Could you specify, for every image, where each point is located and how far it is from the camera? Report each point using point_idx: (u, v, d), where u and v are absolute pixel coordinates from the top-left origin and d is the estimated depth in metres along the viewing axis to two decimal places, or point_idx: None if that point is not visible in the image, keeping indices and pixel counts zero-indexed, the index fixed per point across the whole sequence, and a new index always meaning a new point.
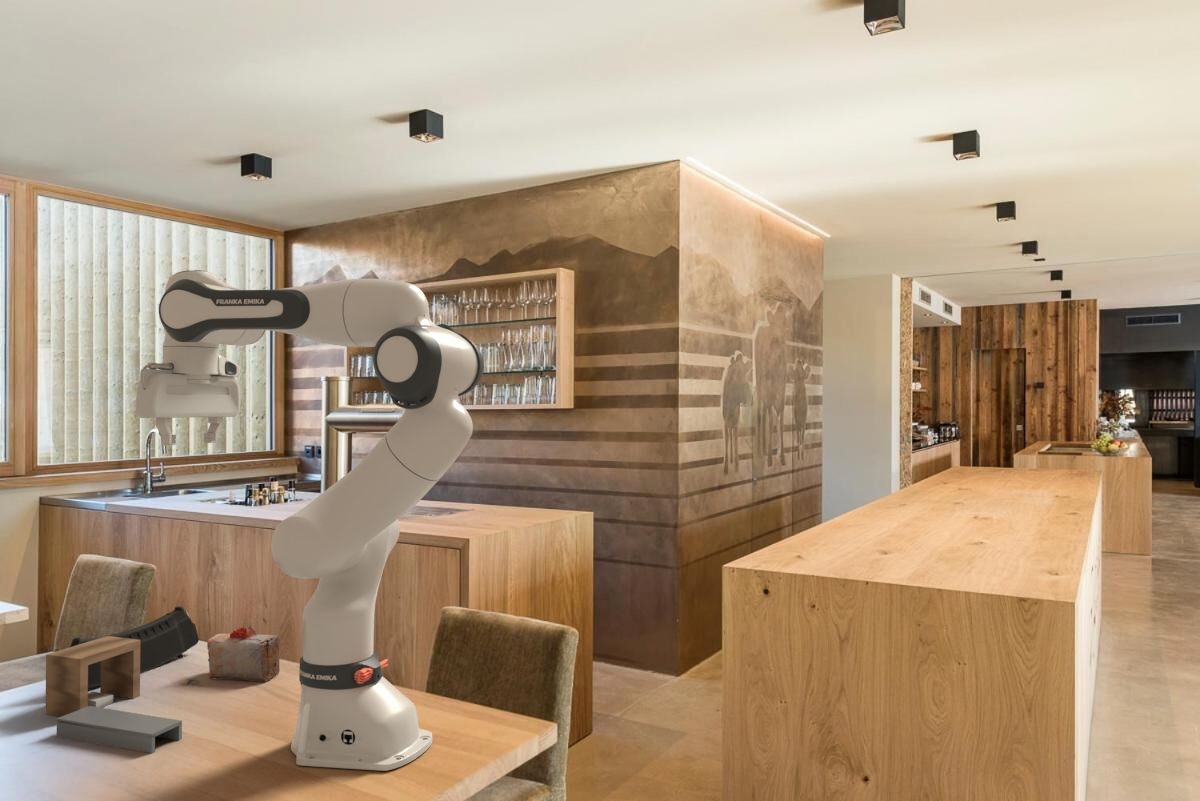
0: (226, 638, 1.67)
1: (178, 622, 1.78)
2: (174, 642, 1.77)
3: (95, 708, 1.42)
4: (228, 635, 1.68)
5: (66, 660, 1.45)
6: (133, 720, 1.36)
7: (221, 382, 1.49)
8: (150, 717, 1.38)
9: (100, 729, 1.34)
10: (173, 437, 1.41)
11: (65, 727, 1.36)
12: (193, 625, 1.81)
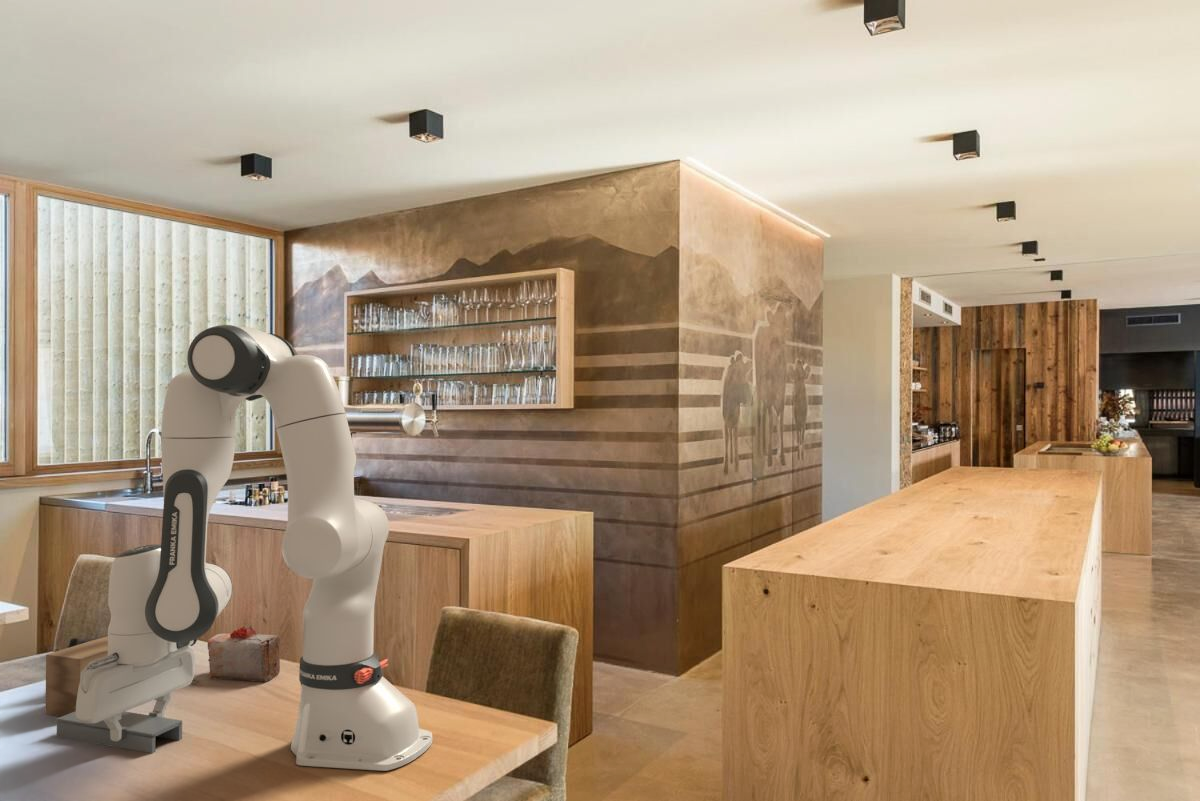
0: (226, 638, 1.67)
1: None
2: None
3: None
4: (228, 635, 1.68)
5: (66, 660, 1.45)
6: (133, 720, 1.37)
7: (172, 657, 1.39)
8: (151, 717, 1.38)
9: (100, 729, 1.34)
10: (123, 731, 1.32)
11: (65, 727, 1.36)
12: None
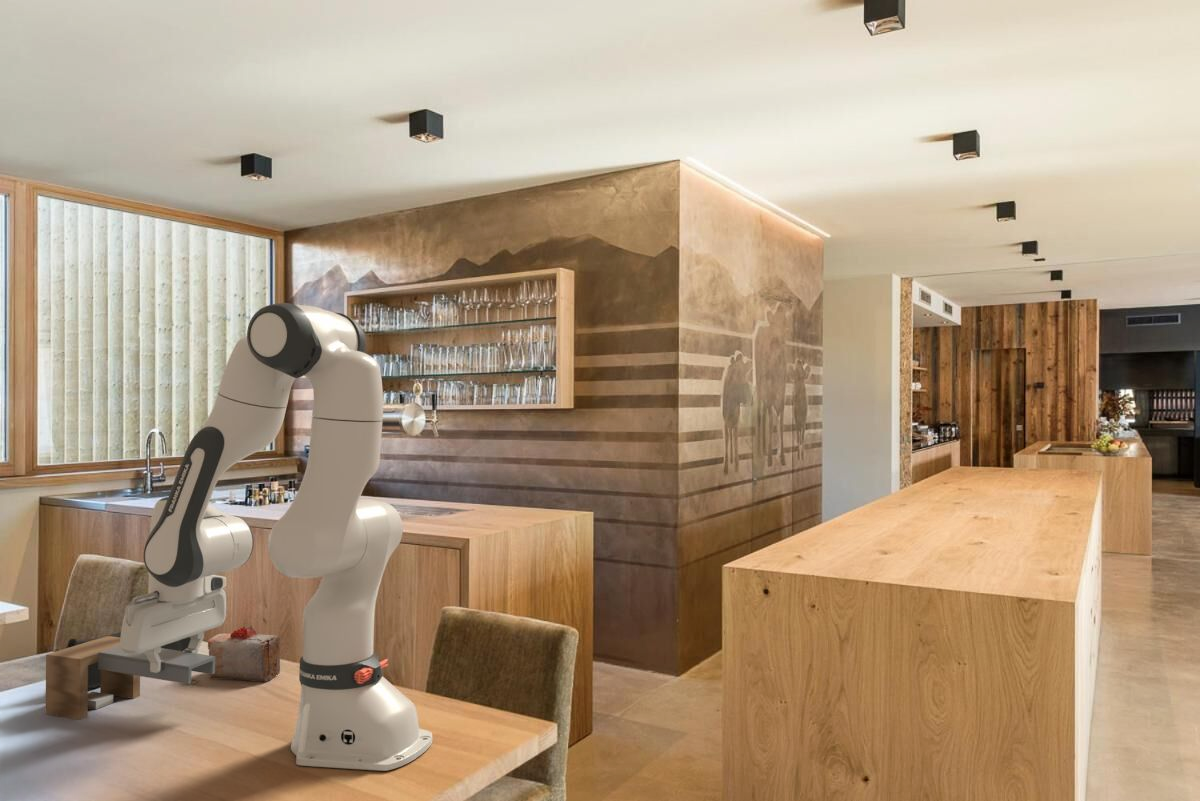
0: (226, 638, 1.67)
1: None
2: (170, 643, 1.76)
3: None
4: (229, 635, 1.68)
5: (66, 660, 1.45)
6: (170, 655, 1.47)
7: (206, 598, 1.49)
8: (185, 652, 1.48)
9: (139, 662, 1.45)
10: (162, 663, 1.42)
11: (106, 660, 1.47)
12: None
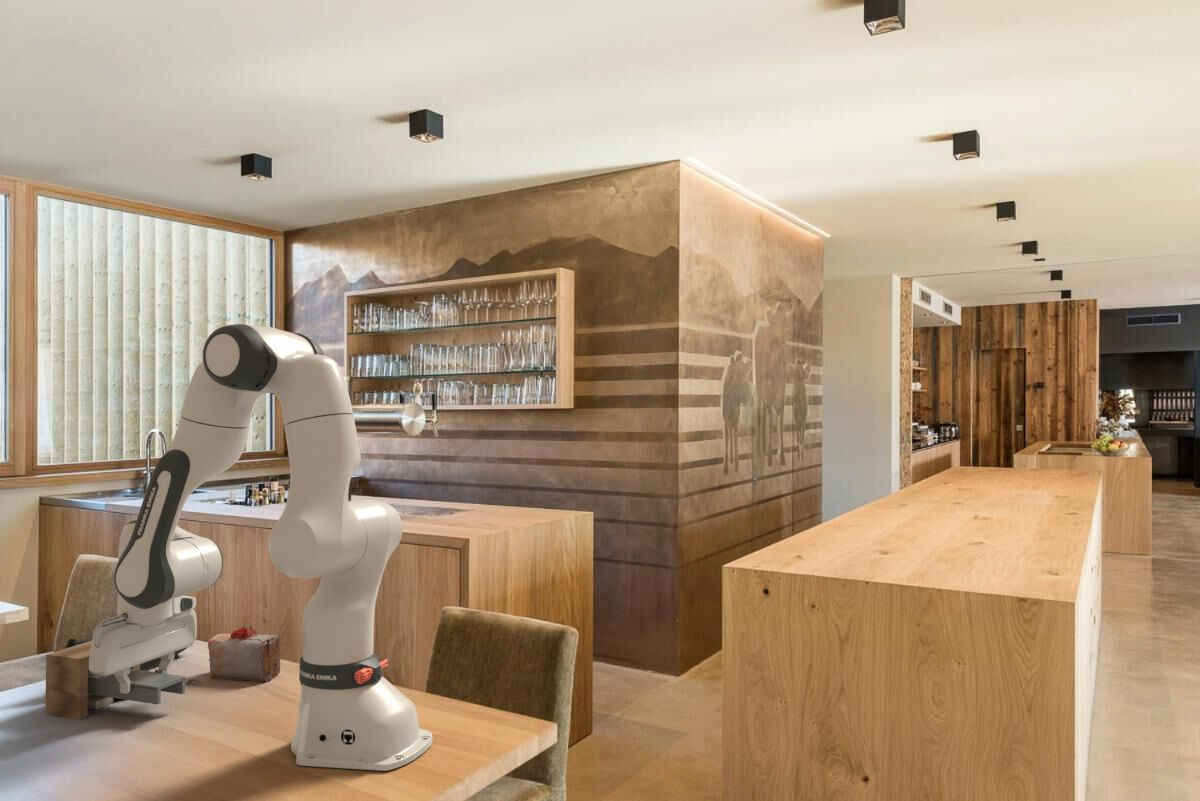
0: (226, 638, 1.67)
1: None
2: None
3: None
4: (229, 635, 1.68)
5: (66, 660, 1.45)
6: (140, 676, 1.49)
7: (176, 619, 1.51)
8: (156, 673, 1.50)
9: (110, 683, 1.47)
10: (132, 684, 1.44)
11: None
12: None
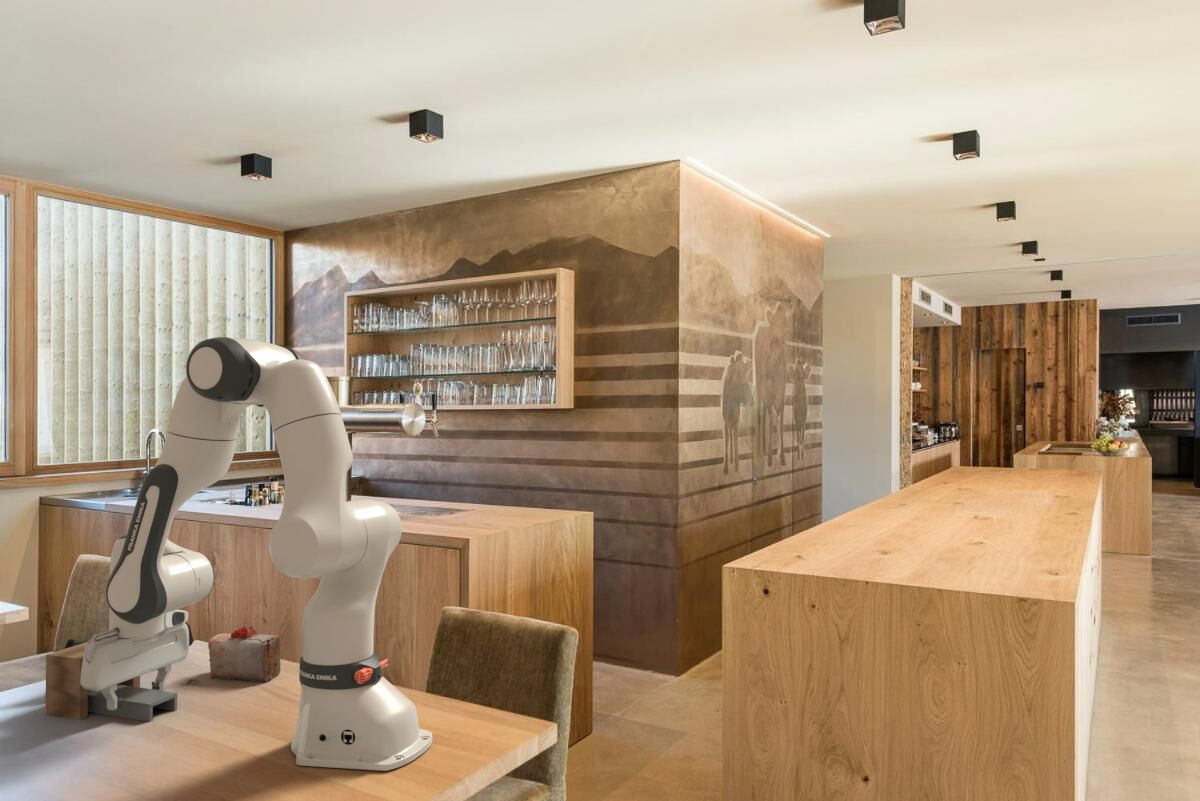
0: (226, 638, 1.67)
1: None
2: None
3: None
4: (229, 635, 1.68)
5: (66, 660, 1.45)
6: (133, 692, 1.49)
7: (168, 633, 1.52)
8: (148, 690, 1.51)
9: (102, 700, 1.47)
10: (119, 701, 1.44)
11: None
12: (188, 626, 1.81)
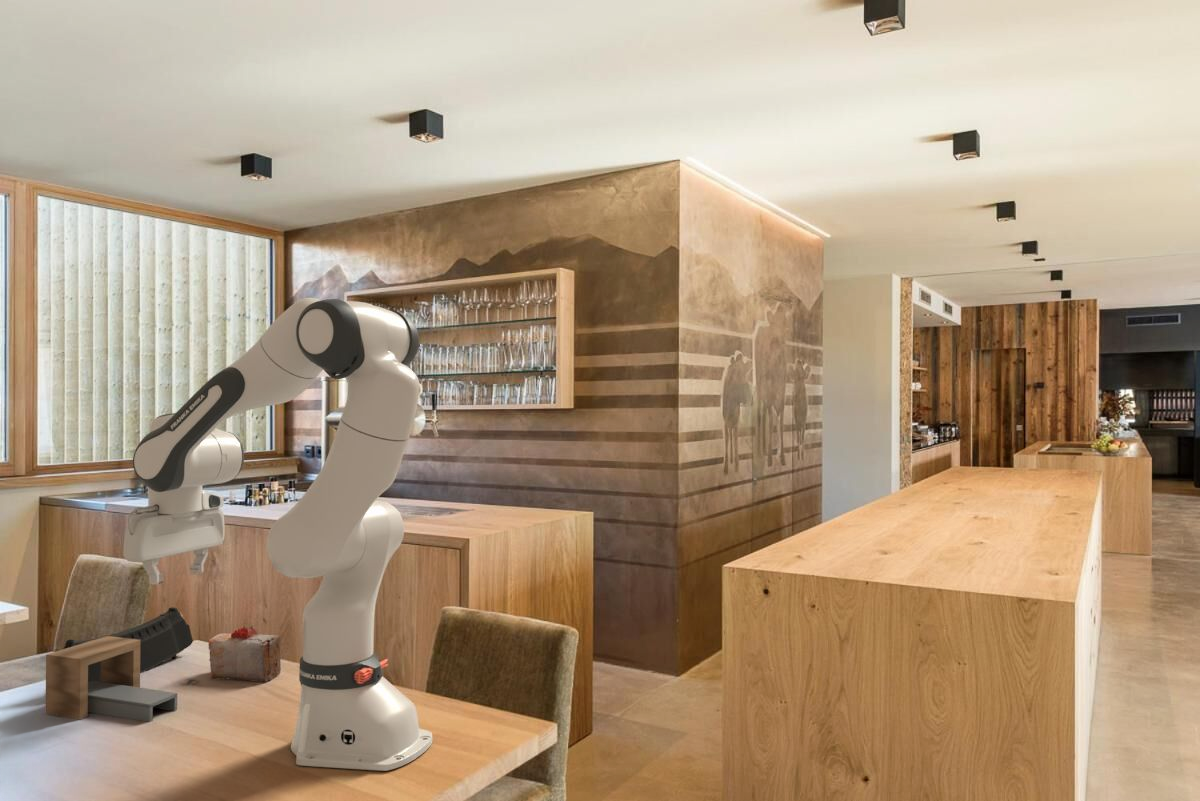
0: (227, 638, 1.67)
1: (172, 623, 1.77)
2: (168, 643, 1.76)
3: (98, 682, 1.55)
4: (229, 635, 1.68)
5: (66, 660, 1.45)
6: (133, 692, 1.49)
7: (205, 515, 1.55)
8: (148, 690, 1.51)
9: (102, 700, 1.47)
10: (161, 576, 1.46)
11: None
12: (187, 626, 1.80)
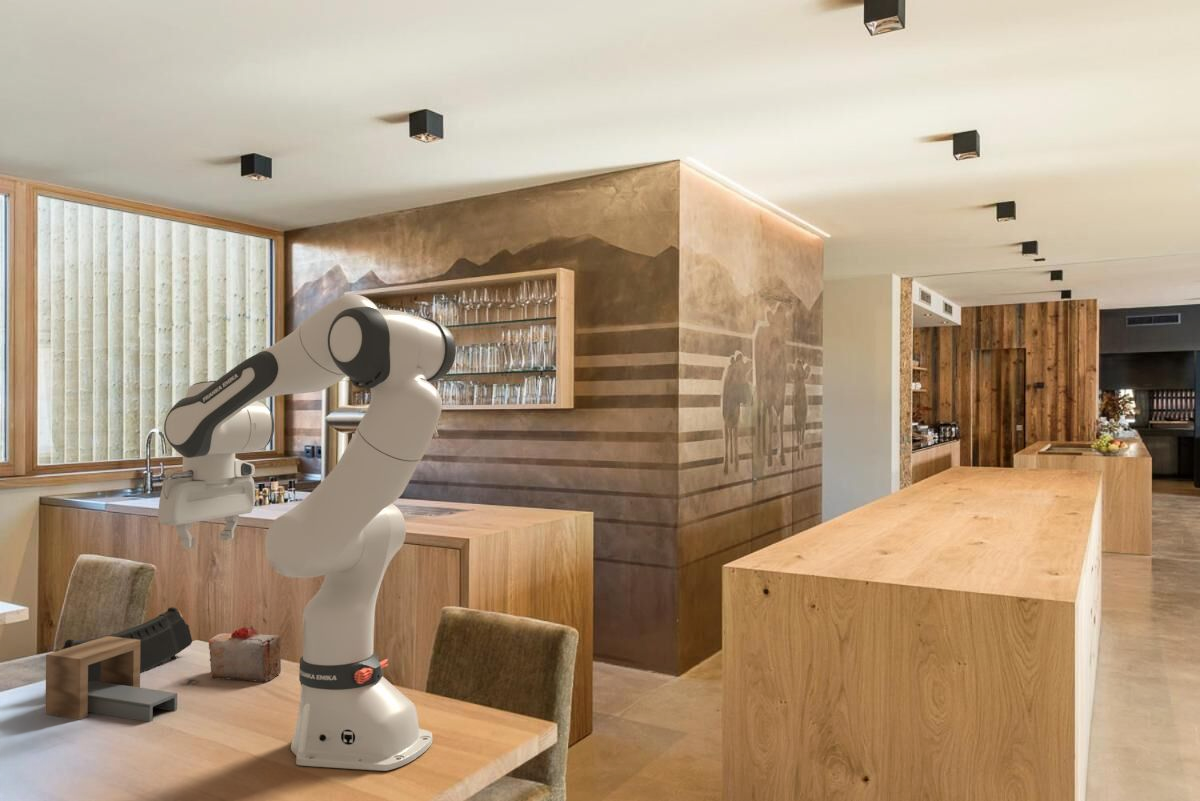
0: (227, 638, 1.67)
1: (171, 623, 1.77)
2: (167, 643, 1.76)
3: (98, 682, 1.55)
4: (230, 635, 1.68)
5: (66, 660, 1.45)
6: (133, 692, 1.49)
7: (237, 483, 1.57)
8: (148, 690, 1.51)
9: (102, 700, 1.47)
10: (193, 540, 1.49)
11: None
12: (186, 626, 1.80)
